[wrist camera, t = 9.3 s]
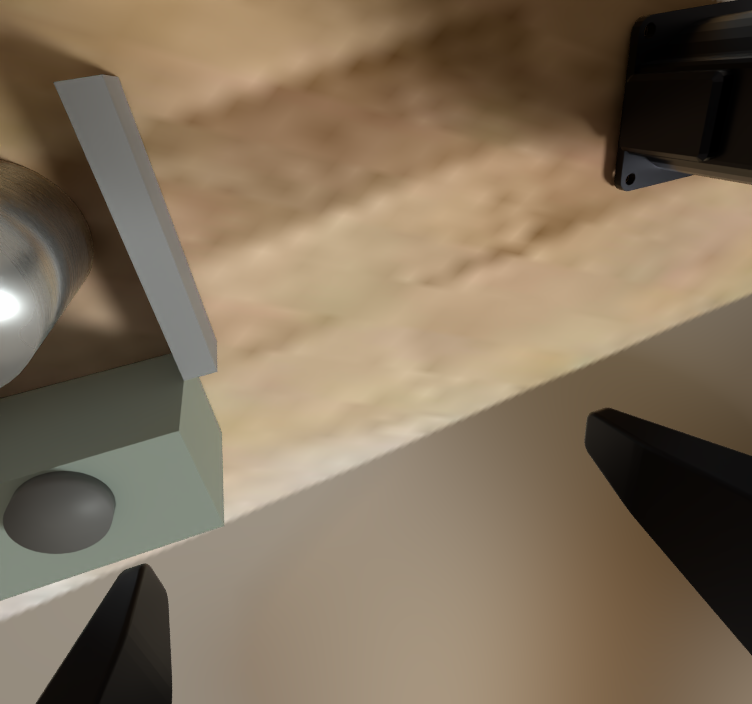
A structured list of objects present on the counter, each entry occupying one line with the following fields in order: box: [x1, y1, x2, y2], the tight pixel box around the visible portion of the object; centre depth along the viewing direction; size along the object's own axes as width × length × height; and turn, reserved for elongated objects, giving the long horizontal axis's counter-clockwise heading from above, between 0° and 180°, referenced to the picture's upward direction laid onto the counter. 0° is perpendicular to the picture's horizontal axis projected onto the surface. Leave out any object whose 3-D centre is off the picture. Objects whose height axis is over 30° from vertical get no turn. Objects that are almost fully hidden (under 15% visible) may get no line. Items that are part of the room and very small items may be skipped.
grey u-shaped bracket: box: [0, 74, 224, 601], centre depth 15 cm, size 10×14×6 cm
